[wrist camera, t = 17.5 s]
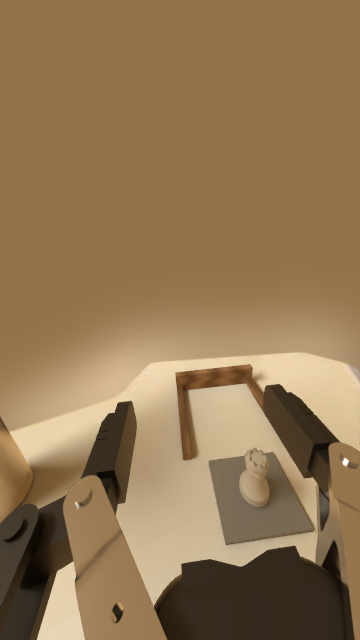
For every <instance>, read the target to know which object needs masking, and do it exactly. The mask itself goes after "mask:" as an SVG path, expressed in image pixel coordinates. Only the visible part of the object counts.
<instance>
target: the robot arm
mask: <svg viewBox="0 0 360 640" xmlns="http://www.w3.org/2000/svg"><path fill="white" fill-rule="evenodd" d="M263 409H264V412H265V415H266V417H267V418H268V420H269V422H270V423H271V425H272V427H273V428H274V430H275V431H276V433H277V435H278V436H279V438H280V440H281V441H282V443H283V445H284V446H285V448H286V449H287V451H288V453H289V454H290V456H291V458H292V459H293V461H294V463H295V464H296V466H297V467H298V469H299V471H300V472H301V474H302V476H303V477H304V478H311V477H313V478H314V479H315V481H316V482H317V486H316V494H317V524H318V540H317V548H316V563H314V562H312V561H310V560H308V559H305V558H303V557H300V556H299V554H298V551H297V549H296V547H295V546H290V547H284V548H277V549H271V550H267V551H266V552H264V553H263V554H261V555H260V556H258V557H257V558H255V559H254V560H252V561H251V562H249V563H248V564H246V565H245V566H243V567H239V566H235V565H231V564H227V563H223V562H219V561H215V560H211V559H208V560H202V561H195V562H189V563H183V564H181V566H182V574H181V575H179V576H178V577H176V578H175V579H174V580H173V581H172V582H171V583H169V585H168V586H167V587H166V588H165V589H164V591H163V592H162V594H161V595H160V597H159V598H158V600H157V601H156V603H155V605H154V607H153V604H152V602H151V600H150V597H149V595H148V592H147V590H146V587H145V585H144V583H143V580H142V578H141V575H140V573H139V571H138V568H137V566H136V563H135V561H134V558H133V556H132V554H131V551H130V549H129V546H128V544H127V542H126V539H125V537H124V534H123V532H122V530H121V528H120V526H119V523H118V521H117V518H116V511H117V505H118V504H120V503H125V500H126V493H127V487H128V481H129V475H130V468H131V462H132V456H133V449H134V443H135V437H136V429H137V422H136V417H135V412H134V408H133V403H132V401H127V402H119V403H118V404H117V407H116V410H115V413H109V414H108V415H107V416H106V418H105V419H104V420H103V421H102V423H101V426H100V429H99V433H98V434H97V437H96V441H95V442H94V445H93V448H92V451H91V453H90V456H89V459H88V462H87V464H86V467H85V470H84V472H83V475H82V477H81V479H80V480H79V481H78V482H76V483H75V484H74V485H73V487H72V488H71V489H70V490H69V492H68V494H67V495H65V496H64V497H62V498H60V499H58V500H56V501H54V502H52V503H50V504H48V505H46V506H44V507H42V508H40V509H38V508H37V507H36V506H35V505H33V504H27V505H23V506H21V507H19V508H17V507H18V506H19V505H20V503H21V502H22V501H23V499H24V498H25V496H26V495H27V493H28V491H29V489H30V487H31V484H32V481H33V473H32V470H31V469H30V467H29V465H28V463H27V462H26V460H25V458H24V456H23V455H22V453H21V451H20V449H19V448H18V446H17V444H16V443H15V441H14V439H13V437H12V436H11V434H10V432H9V431H8V429H7V427H6V426H5V424H4V422H3V421H2V419H1V417H0V523H1V524H0V640H37V636H38V633H39V630H40V626H41V623H42V620H43V616H44V613H45V610H46V606H47V603H48V600H49V596H50V593H51V590H52V586H53V583H54V580H55V577H56V573H57V571H58V570H60V569H62V568H63V567H65V566H66V565H68V564H70V563H71V562H73V561H74V566H75V571H76V579H75V589H76V595H77V601H78V606H79V611H80V616H81V621H82V626H83V631H84V636H85V640H360V452H359V451H358V450H357V449H355V448H353V447H352V446H349V445H347V444H344V443H341V442H340V441H339V440H338V439H337V438H336V437H335V436H334V435H333V434H332V433H331V432H330V431H329V429H328V428H327V427H326V426H325V425H324V424H323V423H322V422H321V421H320V420H319V418H318V417H317V416H316V415H314V414H313V412H312V411H311V410H310V409H309V408H308V407H307V405H306V404H305V403H304V402H303V401H302V400H301V399H300V398H299V397H297V396H296V395H294V394H293V393H291V392H289V393H287V392H286V390H285V389H284V388H283V387H282V386H281V385H280V384H276V385H267V386H266V387H265V392H264V400H263ZM16 508H17V509H16ZM15 509H16V510H15Z"/></svg>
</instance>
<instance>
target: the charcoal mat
mask: <svg viewBox="0 0 360 640" xmlns="http://www.w3.org/2000/svg"><path fill="white" fill-rule="evenodd" d="M263 454H264V455H266V457H267V459H268V462H269V470H268V472H267V473H266V476H265V479H266V480H267V483H268V486H269V500H268V502H267V504H266V505H264V506H263V507H255V506H253V505H251V504H249V503H248V502H247V501H246V500H245V499H244V498H243V496H242V494H241V492H240V489H239V480H240V476H241V474H242V473H243V471H244V470H247V468H246V462H245V456H241V457H234V458H226V459H219V460H211V461H209V466H210V471H211V476H212V481H213V485H214V490H215V495H216V500H217V505H218V510H219V514H220V519H221V524H222V529H223V534H224V539H225V543H226V545H228V544H234V543H241V542H247V541H254V540H260V539H266V538H273V537H279V536H286V535H292V534H298V533H305V532H311V531H313V530H314V528H313V527H312V525H311V523H310V521H309V519H308V517H307V515H306V514H305V512H304V510H303V508H302V506H301V504H300V502H299V500H298V499H297V497H296V495H295V493H294V491H293V489H292V487H291V485H290V484H289V482H288V480H287V478H286V476H285V474H284V472H283V471H282V469H281V467H280V465H279V463H278V461H277V459H276V457H275V456H274V454H273V452H271V453H263Z"/></svg>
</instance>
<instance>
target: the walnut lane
mask: <svg viewBox="0 0 360 640" xmlns="http://www.w3.org/2000/svg"><path fill="white" fill-rule="evenodd" d="M252 369H253V368H252V366H251V365H250V364H249V365H240V366H231V367H222V368H213V369H204V370H195V371H186V372H177V373H176V383H177V394H178V406H179V417H180V429H181V440H182V452H183V460H188V459H192V455H191V447H190V439H189V431H188V424H187V416H186V408H185V401H184V393H183V390H191V389H199V388H208V387H216V386H225V385H234V384H242V383H246V384H247V386H248V387H249V389H250V391H251V392H252V394H253V395H254V397H255V399H256V400H257V402H258V404H259V405H260V407H261V409H262V410H263V412H264V409H263V400H264V395H263V394H262V392H261V391H260V389H259V388H258V387H257V385H256V384H255V382H254V381H253V379H252ZM264 413H265V412H264Z"/></svg>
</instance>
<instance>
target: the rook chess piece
mask: <svg viewBox="0 0 360 640" xmlns="http://www.w3.org/2000/svg"><path fill="white" fill-rule="evenodd" d="M245 462H246V468H247V470H244V471H243V473H242V474H241V476H240V480H239V489H240V492H241V494H242V496H243V498H244V499H245V500H246V501H247V502H248V503H249V504H251V505H253V506H255V507H263V506H264V505H266V504H267V502H268V500H269V486H268V483H267V480H266V479H265V476H266V473H267V472H268V470H269V462H268V459H267V457H266V455H264V454H263V451H261V450H260V451H257V449H256V448H253V450H249V451H248V452H247V453H246V454H245Z"/></svg>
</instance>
